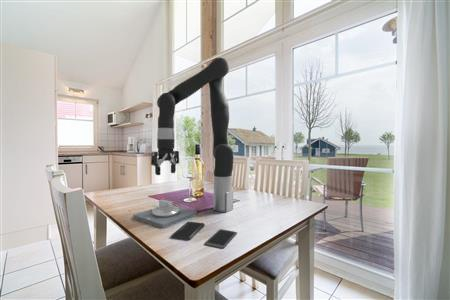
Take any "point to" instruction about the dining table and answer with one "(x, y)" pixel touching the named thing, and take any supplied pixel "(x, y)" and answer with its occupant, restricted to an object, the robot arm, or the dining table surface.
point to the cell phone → (220, 239)
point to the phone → (188, 231)
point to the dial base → (164, 221)
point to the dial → (165, 209)
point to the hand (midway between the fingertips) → (165, 173)
